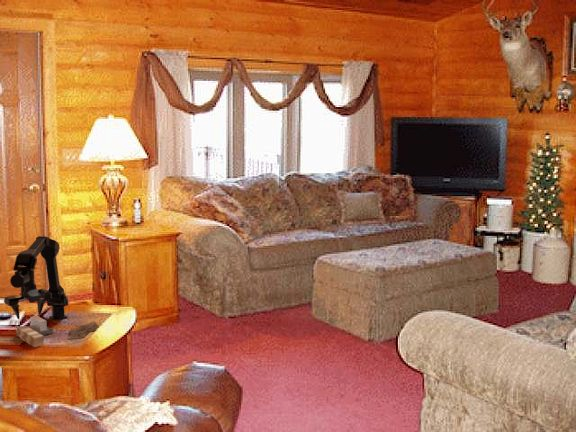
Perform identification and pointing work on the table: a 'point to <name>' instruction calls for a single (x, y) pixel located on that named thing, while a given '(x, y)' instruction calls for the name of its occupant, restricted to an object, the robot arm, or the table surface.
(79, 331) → the wooden fragment
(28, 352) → the table surface
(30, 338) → the birch rod
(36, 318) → the balance ridge
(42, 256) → the robot arm
